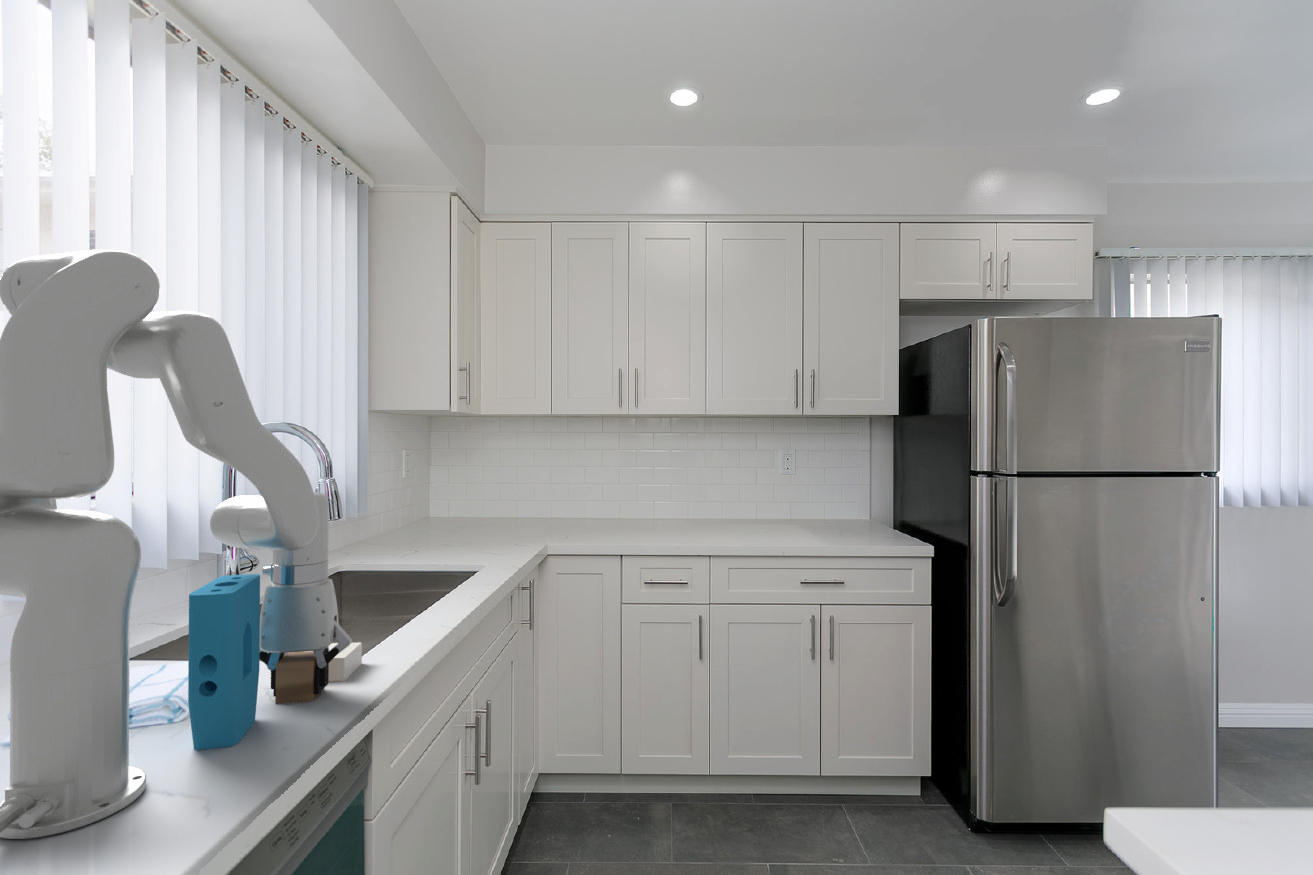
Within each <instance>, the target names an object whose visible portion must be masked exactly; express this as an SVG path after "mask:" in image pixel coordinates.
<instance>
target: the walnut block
mask: <svg viewBox="0 0 1313 875" xmlns="http://www.w3.org/2000/svg"><path fill="white" fill-rule="evenodd" d="M316 667H317V661H316V658H315V655H314V652H289V653H288V654H287V655H285V656H284V657H283V658H282V659H281V660H279V661H278V662H277V663H276V697H275V704H276V705H280V704H282V705H283V704H296V703H297V704H299V703H300V704H301V703H312V702H313V701H314V700H315V699H316V698H317V696H318V695H315V694H314V670H315V668H316Z"/></svg>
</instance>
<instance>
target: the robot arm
mask: <svg viewBox="0 0 1313 875" xmlns="http://www.w3.org/2000/svg"><path fill="white" fill-rule="evenodd" d="M160 292H161V285H160V279H159V276H158V274H157V272H156V270H155V268H154V267H153V266H152V265H151V264H150V263H149V261H147V260H145V259H144V258H142V257H141V256H138V255H136V254H135V253H132V252H127V251H123V250H117V249H116V250H115V249H92V250H79V251H73V252H65V253H54V254H45V255H43V254H42V255H36V256H30V257H26V258H22V259H20V260H18V261H15V262H13V263H11V265H9V266H8V267H6V269H5V270H4V272H3V273H2V274H1V277H0V300H1V302H2V304H3V306H4V307H5V309H6V310H7V312H8V313H9V314H10V315H11V316H10V318H9V319H8V321H7V323H6V325H5V327H4V328H3V330H2V332H1V336H0V595H3V596H11V597H20V598H25V603H24V607H23V610H22V611H21V614H20V617H19V618H18V621H17V623H16V626H15V627H14V631H13V635H12V640H11V644H10V646H11V647H10V657H9V662H10V663H9V668H10V669H9V670H10V697H9V699H10V707H9V708H10V710H9V711H10V713H9V714H10V716H9V717H10V718H9V720H10V724H9V725H10V726H9V727H10V730H9V732H10V733H9V734H10V735H9V737H10V738H9V742H10V743H9V745H10V746H9V747H10V748H9V786H8V787H6V788H5V789H4V799H3V800H2V801H1V802H0V838H2V839H8V840H28V839H34V838H36V839H37V838H43V837H48V836H52V835H53V836H54V835H57V834H60V833H65V832H68V831H72V830H75V829H78V828H81V827H85V826H88V825H91V824H93V823H96V822H98V821H101V820H103V819H105V818H107V817H108V816H109V817H110V816H111V815H113V814H115V813H117V812H119V811H120V810H123V809H124V808H125V807H127V806H128V805H131V803H133V802H134V801H136V799H138V798H139V797H140V796H141V795H142V793H143V792H144V791H145V789H146V786H147V774H146V773H145V771H144V770H142V769H140V768H138V767H136V766H135V767H134V766H132V765H129V764H130V763H129V762H130V761H129V760H130V759H129V757H130V756H129V755H130V749H129V748H130V627H131V626H130V624H131V622H130V621H131V610H132V602H133V596H134V591H135V587H136V583H137V579H138V575H139V571H140V567H141V561H142V552H141V550H142V548H141V544H140V540H139V539H138V535H137V534H136V533H135V531H134V530H133V529H132V528H131V527H130V526H129V524H127V523H126V522H124V521H122V520H121V519H119V518H117V517H115V516H114V515H113V516H112V515H110V514H106V513H103V512H99V511H92V510H82V509H79V510H78V509H64V508H63V509H62V508H59V509H58V506H57V500H66V499H67V500H68V499H76V498H78V499H79V498H82V497H85V496H90V495H91V494H94V493H97V492H98V491H99V490H101V489H102V488H103V487H105V486H106V485H107V483H108V482H109V481H110V479H111V477H112V475H113V473H114V469H115V447H114V438H113V428H112V422H111V421H112V419H111V410H110V402H109V392H108V369H109V370H112V371H113V372H116V373H118V374H120V375H124V376H127V377H131V378H135V379H147V380H148V379H159V380H160V383H161V384H162V387H163V390H164V392H165V394H166V396H167V398H168V401H169V403H170V404H169V405H171V408H172V411H173V413H174V416H175V418H176V420H177V423H178V426H179V427H180V430H181V433H182V435H183V437H184V439H185V440H186V442H187V443H188V444H190V445H191V446H193V447H194V448H195V449H197V450H199V451H200V452H203V453H204V454H206V455H208V456H209V457H212V458H213V459H216V460H217V461H219V462H222V463H224V464H226V465H227V466H229V467H231V468H232V469H235V470H236V471H237V472H239V473H240V474H241V475H243V476H244V477H245V478H246V479H247V480H248V481H249V482H250V483H251V484H252V485H253V486H254V488H256V490H257V491H258V493H259V494H260V495H253V494H244V495H243V494H242V495H236V496H233V497H230V498H228V499H225V500H224V501H223V502H221V503H220V504H218V505H217V506H216V508H215V509H214V510H213V512H212V514H211V516H210V520H209V527H210V530H211V533H212V535H213V536H214V538H216V540H217V541H218V542H220V543H222V544H224V545H225V546H227V547H228V546H229V547H232V548H236V549H237V548H239V549H248V550H249V549H250V550H252V549H253V550H271V551H272V563H270V565H269V566H263V568H262V571H261V572H262V576H268V577H270V581H271V582H269V583H267V584H266V585H265V587H264V591H263V592H264V593H263V597H262V601H261V602H262V603H261V606H260V656H259V661H261V662H262V663H264V664H265V666H266V667H267V670H268V671H270V689H271V690H273V693H272V694H273V698H276V663H277V662H278V661H279V660H281V659H282V658H283V657H284V656H285V653H286V652H304V651H313V652H314V655H315V658H316V661H317V667H316V668H315V670H314V694H315V695H317V696H318V695H320V694H321V693H322V692H323V691H324V690H325V688H326V687H327V686H328V684H329V681H328V680H329V662H330V661H331V660H332V659H333V658H334V657H335V656H336V655H337V654H339V653H340V652H341V651H343V650H344V649H345V648H346V647H348V646H349V645H350V644H351V643H353V639H352V638H351V637H350V636H351V635H349V634H348V633H347V632H346V630H345V629H344V628H343V626H341V624H339V612H338V611H339V610H338V602H337V597H336V596H337V595H336V591H335V590H336V589H335V585H334V581H333V579H332V578H329V522H330V521H329V515H330V514H329V508H330V507H329V499H328V497H327V496H326V495H325V493H322V492H318V491H317V492H316V491H315V492H314V489H313V486H312V483H311V481H310V478H309V476H308V474H307V472H306V470H305V468H304V466H303V465H302V464H301V462H300V461H299V460H298V458H296V456H295V455H294V454H293V453H292V452H291V451H290V450H289V449H288V448H287V447H286V446H285V445H284V443H283V442H282V441H280V439H279V438H278V437H276V436H275V434H273V433H272V432H271V431H270V430H269V429H267V428H266V427H265V426H264V425H263V424H262V423H261V422H260V420H259V419H258V417H257V414H256V412H255V409H254V406H253V403H252V400H251V398H250V395H249V394H248V390H247V388H246V385H245V382H244V379H243V377H242V374H241V371H240V368H239V366H238V362H237V360H236V357H235V355H234V352H233V348H232V347H231V343H230V341H229V338H228V336H227V333H226V331H225V330H224V328H223V327H222V325H221V324H220V323H219V321H217V320H216V319H215V318H213V317H211V316H210V315H207V314H205V313H202V312H197V311H189V310H188V311H186V310H184V311H183V310H178V311H177V310H175V311H174V310H173V311H172V310H171V311H154V309H155V308H156V306H157V304H158V302H159V298H160ZM153 311H154V312H153ZM334 641H337V643H338V644H337V645H336V646H334V647H333V648H332V649H331V650H329V645H330V644H331V643H333V642H334Z"/></svg>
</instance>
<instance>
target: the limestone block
mask: <svg viewBox="0 0 1313 875" xmlns="http://www.w3.org/2000/svg"><path fill="white" fill-rule="evenodd" d="M337 644H338V642H332V643H331V644H330V645H329V650H331V649H332V648H333V647H334V646H336V645H337ZM362 647H363V643H362V642H352V643H351V644H350V645H349V646H348V647H346V648H345V649H344V650H343V651H341V652H340V653H339V654H337V655H336V656H335V657H334V658H333V659H332V660H331V661H330V662H329V680H328V682H345V681H346V680H347V679H348V678H349V677H350V676H351V675H352V674H353V673H354V672H355V671H356V670H358V668H359V667H360V666H361V665H362V664H363V663H362V662H363V660H362V658H363V655H362V654H363V651H362V650H363V648H362ZM304 652H313V651H304Z"/></svg>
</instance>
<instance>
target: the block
mask: <svg viewBox="0 0 1313 875" xmlns="http://www.w3.org/2000/svg"><path fill="white" fill-rule="evenodd" d="M260 614H261V574H258V573H254V574H253V573H252V574H233V575H232V574H231V575H229V574H228V575H221V576H219V577H217V578H215V579H214V580H212V581H210V582H208V583H206V584H205V585H203V586H201V587H199V588H197V589H196V590H194V591H192V592H190V593H189V594H188V668H187V669H188V672H187V674H188V675H187V676H188V677H187V679H188V683H187V684H188V685H187V686H188V688H187V689H188V690H187V693H188V695H187V701H188V703H187V704H188V711H189V718H190V719H189V720H190V727H191V737H192V744H193V749H194V750H195V751H199V750H200V751H201V750H212V749H220V748H229V747H230V748H231V747H233V746H236V745H237V744H239V743H240V741H241V740H242V739H243V737H244V736H245V735H246V734H247V732H248V731H249V730H250V728H251V727H252V725H253V724H254V723H255V721H256V716H257V715H256V714H257V703H258V702H257V700H258V691H259V690H258V687H259V680H260V679H259V677H260V659H259V656H260Z"/></svg>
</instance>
